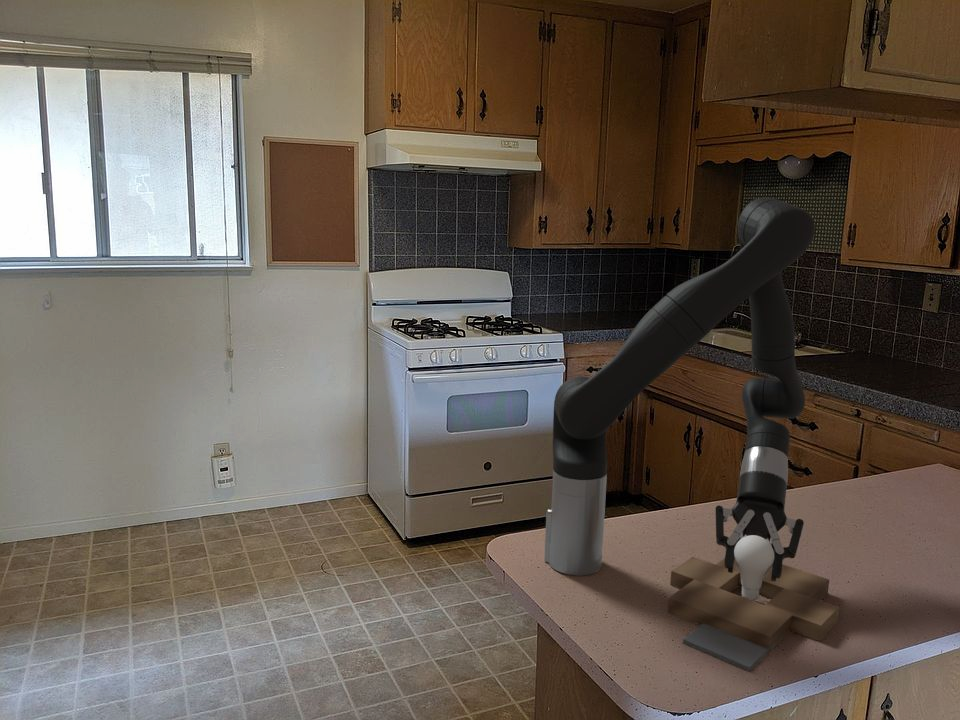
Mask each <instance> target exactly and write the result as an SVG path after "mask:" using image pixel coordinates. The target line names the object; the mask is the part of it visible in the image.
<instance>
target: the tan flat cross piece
mask: <svg viewBox="0 0 960 720" xmlns="http://www.w3.org/2000/svg"><path fill="white" fill-rule="evenodd" d="M724 561H725V557H724V558H723V559H721V560H720V561H718V562H717V563H716V564H715V563H711V562H710V561H709V562H708V561H706V560H703V559H701V558H698V557H694V556H691V557H690V558H689V559H687V560H686V561H683V562H682V563H681V564H679V565H678V566H676V567H675V568H673V569H672V570H671V571H670V582H669V585H670V586H673V587H675V588H677V589H678V590H677V591H676V592H674V593H673V594H672V595H670V596H668V602H667V613H669V614H671V615H674V616H676V617H679V618H682V619H684V620H686V621H689V622H690V623H694V624H696V625H699V626H700V625H701V624H703V623H705V624H708V625H710V626H712V627H715V628H717V629H720V630H722V631H725V632H727V633H730V634H732V635H735V636H737V637H740V638H742V639H745V640H747V641H750V642H752V643H755V644H757V645H760V646H762V647H765V648H767V649H769V648H770V647H771V646H772V645H773V644H774V643H775V642H776V645H777V644H778V643H780V642H781V640H782V639H784V638H785V637H786V635H788V634H789V633H790V632H791V631H792V632H794V633H797V634H799V635H802V636H805V637H807V638H810V639H813V640H814V641H817V642H820V641H821V640H822V639H823V638H824V637H825V635H827V633H829V631H830V630H832V628H833V626H835V624H836V623H837V622H838V617H839V615H838V614H839V606H836V605H834V604H831V603H829V602H824V601H822V600H823V599H824V598H825V597H826V596H827V595H828V593H829V585H830V579H828V578H826V577H823V576H819V575H817V574H814V573H810V572H808V571H804V570H802V569H798V568H795V567H792V566H789V565H785V564H783V563H782V573H781V577H780V578H776V581H771V575H772V566H773V565H772V566H771V568H770V569H769V571H768V572H767V573H766V574H765V576H764V578H763V581H762V585H761V588H760V589H759V595H760V596H763V597H766V598H768V599H770V600H769V601H768V602H767V603H766V604H762V603H760V602H757V601H756V600H753V601H752V600H749V599H747V598H744V597H743V596H742V595H738V594H736V593H733V592H732V591H734V590H735V589H737V588H740V589H742V584H741V574H740V570H739V568H738V566H737V563H736V561H735V559H734V566H733V573H730V572H728V568H725V565H724ZM769 652H770V651H768V653H769Z"/></svg>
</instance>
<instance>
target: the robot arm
mask: <svg viewBox="0 0 960 720" xmlns="http://www.w3.org/2000/svg"><path fill="white" fill-rule="evenodd" d="M815 233H816V224H815V220H814V218H813V216H812V214H810V213H809V212H808V211H806V210H804V209H802V208H801V207H798V206H797V205H794V204H791V203H789V202H786V201H783V200H780V199H778V198H773V197H768V196H765V197H764V196H763V197H759V198H756V199H753V200H752V201H751V202H749V203H748V204H746V206H745V207H744V208H743V209H742V212H741V214H740V215H739V218H738V222H737V237H738V242H739V243H738V244H739V247H740V250H739V251H738V252H737V253H736V254H734V255H733V256H731V258H729V259H728V260H727V261H725V262H724V263H722V264H721V265H719V266H717V267H716V268H712V269H711V270H709V271H706V272H704V273H702V274H700V275H698V276H695V277H692V278H691V279H689V280H688V279H687V280H686V281H683V282H682V283H681V284H679V285H677V286H676V287H674V288H673V289H671V290H670V291H669V292H667V293H666V295H664V296H663V297H662V298H661V299H660V300H659V301H658V302H656V304H655V305H653V306H652V308H650V309H649V310H648V312H646V313H645V314H644V315H643V317H642V318H641V319H640V320H639V322H638V323H637V324H636V325H635V326H634V329H632V332H630V334H629V336H628V337H627V338H626V340H625V341H624V343H623V345H622V346H621V347H620V349H619V351H618V352H617V353H616V354H615V355H614V356H613V357H612V358H611V360H610V361H608V363H606V364H605V365H604V366H603V367H602V368H601V369H599V370H598V371H596V373H594V375H592V376H590V377H589V376H585V375H584V376H583V375H582V376H574V377H571V378H569V379H567V380H565V381H564V382H563V383H562V384H561V385H560V386H559V387H558V389H557V391H556V394H555V396H554V402H553V416H552V417H553V418H552V419H553V420H552V421H553V422H552V461H553V462H552V464H553V465H552V487H551V490H552V491H551V507H550V508H549V509H547V510H546V513H545V533H544V534H545V535H544V537H545V538H544V558H543V559H544V561H545V562H547V563H548V564H549V565H550V567H551V568H553V570H555V571H557V572H560V573H562V574H565V575H570V576H587V575H592V574H595V573H597V572H599V571H600V570H601V568H602V562H603V560H602V559H603V545H604V533H605V532H604V530H605V515H606V514H605V509H606V496H607V495H606V494H607V493H606V492H607V479H608V478H607V477H608V476H607V475H608V453H607V430H608V429H609V428H610V427H611V426H613V423H615V422H616V420H617V419H619V417H620V416H621V415H622V414H623V412H624V411H625V410H626V409H627V408H629V406H630V404H632V403H633V401H634V400H635V399H636V398H637V397H638V396H639V395H640V394H641V393H642V391H645V389H646V388H647V387H648V386H650V385H651V384H652V383H653V382H655V381H656V380H657V379H658V378H659V377H660V376H661V375H663V374H664V373H665V372H666V371H667V370H668V369H669V368H671V367H672V366H673V365H674V364H675V363H676V362H677V361H679V360H680V359H681V358H682V357H683V356H684V355H686V354H687V353H688V352H689V351H690V350H691V349H693V348H694V347H695V346H696V345H697V344H698V343H699V342H700V341H701V340H702V339H704V338H705V336H708V334H709V333H710V332H711V331H712V330H713V329H714V328H715V327H716V326H717V325H718V324H719V323H720V322H722V321H723V320H724V319H725V318H726V317H727V316H728V315H729V314H731V313H732V312H733V311H734V310H735V309H736V308H737V307H739V306H740V305H741V304H742V303H743V302H744V301H745V300H747V299H748V300H749V309H750V323H751V325H750V326H751V331H750V332H751V333H750V334H751V336H750V337H751V362H752V365H753V367H754V369H756V370H757V371H758V372H761V373H763V374H766V375H771V376H773V377H776V378H773V377H753V378H752V377H751V378H749V379H748V380H747V381H746V382H745V384H744V385H743V387H742V390H741V398H742V399H741V401H742V405H743V409H744V415H745V418H746V419H745V421H746V441H745V448H744V454H743V459H742V462H741V465H740V466H741V467H740V473H739V480H738V481H739V482H738V487H737V494H736V495H737V496H736V502H735V505H733V507H732V508H724V507H723V506H722V505H717V506H715V539H716V540H715V542H716V545H718V546H722V547H724V548H725V553H724V554H725V557H724V558H725V561H724V565H725V568H728V572H730V573H733V566H734V559H735V558H734V549H735V546H736V544H737V542H738V541H739V540H740V539H742V538H743V537H746V536H749V535H756V536H760V537H762V538H764V539H765V540H767V541H768V542H769V543H770V545H771V546H772V548H773V550H774V561H773V566H772V575H771V581H776V578H780V577H781V573H782V564H783V561H784V560H785V559H786V558H788V559H794V558H795V557H796V555H797V551H798V548H799V544H800V542H801V541H800V540H801V538H802V534H803V533H802V532H803V529H804V524H805V523H804V522H805V521H804V520H803V519H801V518H797V519H793V518H789V517H787V515H786V512H785V507H786V497H787V486H788V481H789V480H788V477H789V462H788V461H789V451H790V442H791V434H790V430H789V429H788V427H787V426H786V425H784V424H782V423H780V422H778V421H774V420H772V419H768V418H774V419H787V420H789V419H796V418H798V417H799V416H800V415H801V414H802V413H803V411H804V409H805V407H806V396H805V395H806V394H805V391H804V387H803V384H802V382H801V379H800V376H799V373H798V370H797V365H796V356H795V354H796V353H795V352H796V351H795V349H796V347H795V343H796V342H795V341H796V332H795V331H796V329H795V323H794V321H795V320H794V316H793V312H792V308H791V305H790V302H789V299H788V296H787V293H786V289H785V285H784V281H783V276H782V275H783V274H782V272H783V271H784V270H785V269H787V268H788V267H789V266H791V265H792V264H794V263H795V262H796V261H797V260H799V258H800V257H801V256H802V255H803V254H804V253H805V252H806V251H807V250H808V248H809V246H811V243H812V242H813V239H814V237H815ZM730 517H732V518H733V520H734V521H735V523H736V526H735V528H734V529H733V532H732V533H731V534H730V535H729V537H728V536H726V535H725V531H724V530H725V528H724V526H725V525H724V523H727V522H728V521H729V518H730ZM784 526H787V528H788V529H787V531H788V532H789V534H791V537H790V541H789V544H788V546H786V547H785V546H784V547H783V544H782V542H781V539H780V535H779V533H778V532H779V531H780V530H781V529H783V528H784Z"/></svg>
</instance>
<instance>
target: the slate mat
mask: <svg viewBox="0 0 960 720" xmlns="http://www.w3.org/2000/svg"><path fill="white" fill-rule="evenodd" d="M682 644H685V645H687V646H689V647H692V648H694V649H696V650H698V651H701V652H703V653H706V654H708V655H711V656H713V657H715V658H718V659H720V660H722V661H725V662H727V663H730V664H731V665H733V666H736V667H739V668H741V669H743V670H745V671H748V672H751V670H752V669H753V668H754V667H756V665H758V663H759V662H760V661H762V660H763V658H764V657H766V655H768V653H769V652H771V651H772V650H773V649H774V648H775V647H776V645H777V644H776V642H775V643H774V644H773V645H772V646H771V647H770V648H769V649H767V648H765V647H762V646H760V645H757V644H755V643H752V642H750V641H747V640H745V639H742V638H740V637H737V636H735V635H732V634H730V633H727V632H725V631H722V630H720V629H717V628H715V627H712V626H710V625H708V624H705V623H703V624H701V625H699V626H698V627H696V628H694V630H693V631H692V632H690V633H689V634H687V636H685V637H684V638H683V639H682ZM768 651H769V652H768Z"/></svg>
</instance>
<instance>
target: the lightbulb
mask: <svg viewBox="0 0 960 720" xmlns="http://www.w3.org/2000/svg"><path fill="white" fill-rule="evenodd" d="M734 558H735V561H736V563H737V566H738V568H739V570H740V574H741V584H742V588H741V597H744V598H747V599H749V600H752V601H756V600H758V599H759V595H760V594H759V589H760V588H761V585H762V581H763V578H764V576H765V574H766V573H767V572H768V571H769V569H770V568H771V566H772V565H773V561H774V550H773V548H772V546H771V545H770V543H769V541H768V539H766V540H765V539H764V538H762V537H760V536H756V535H749V536H746V535H745V536H744V537H743V538H742V539H740V540H739V541H738V542H737V544H736V546H735V549H734Z"/></svg>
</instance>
